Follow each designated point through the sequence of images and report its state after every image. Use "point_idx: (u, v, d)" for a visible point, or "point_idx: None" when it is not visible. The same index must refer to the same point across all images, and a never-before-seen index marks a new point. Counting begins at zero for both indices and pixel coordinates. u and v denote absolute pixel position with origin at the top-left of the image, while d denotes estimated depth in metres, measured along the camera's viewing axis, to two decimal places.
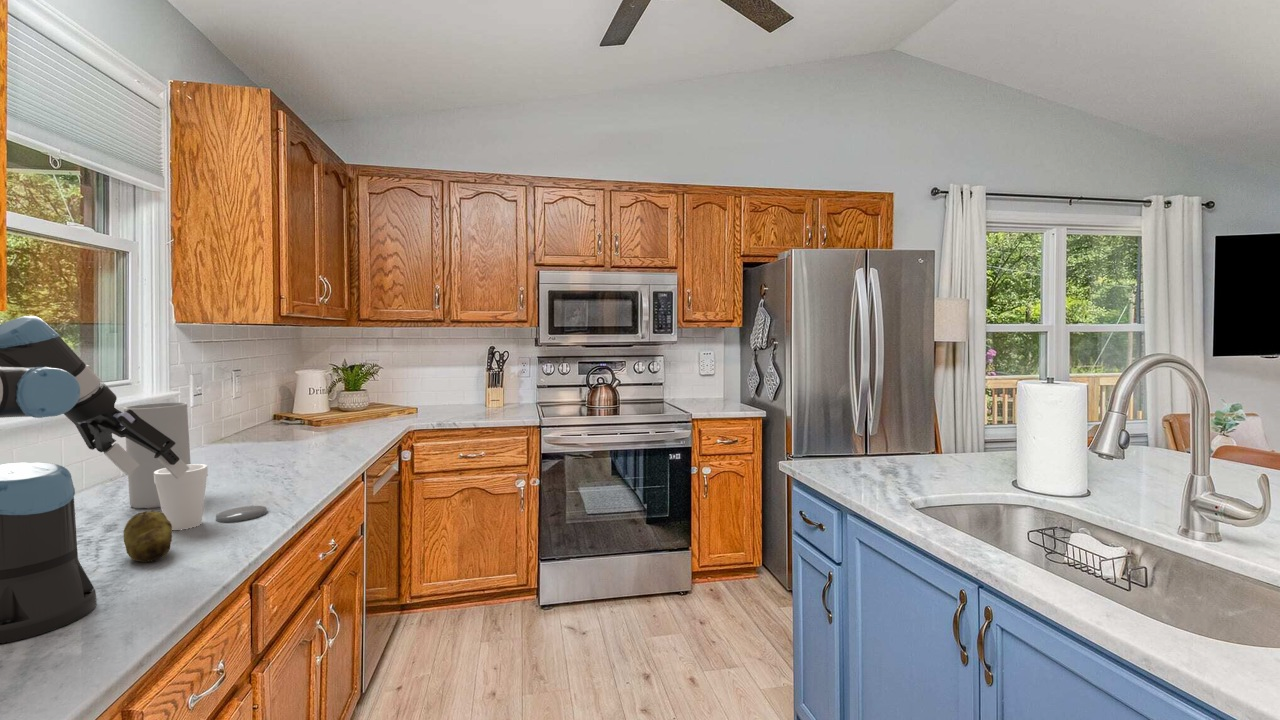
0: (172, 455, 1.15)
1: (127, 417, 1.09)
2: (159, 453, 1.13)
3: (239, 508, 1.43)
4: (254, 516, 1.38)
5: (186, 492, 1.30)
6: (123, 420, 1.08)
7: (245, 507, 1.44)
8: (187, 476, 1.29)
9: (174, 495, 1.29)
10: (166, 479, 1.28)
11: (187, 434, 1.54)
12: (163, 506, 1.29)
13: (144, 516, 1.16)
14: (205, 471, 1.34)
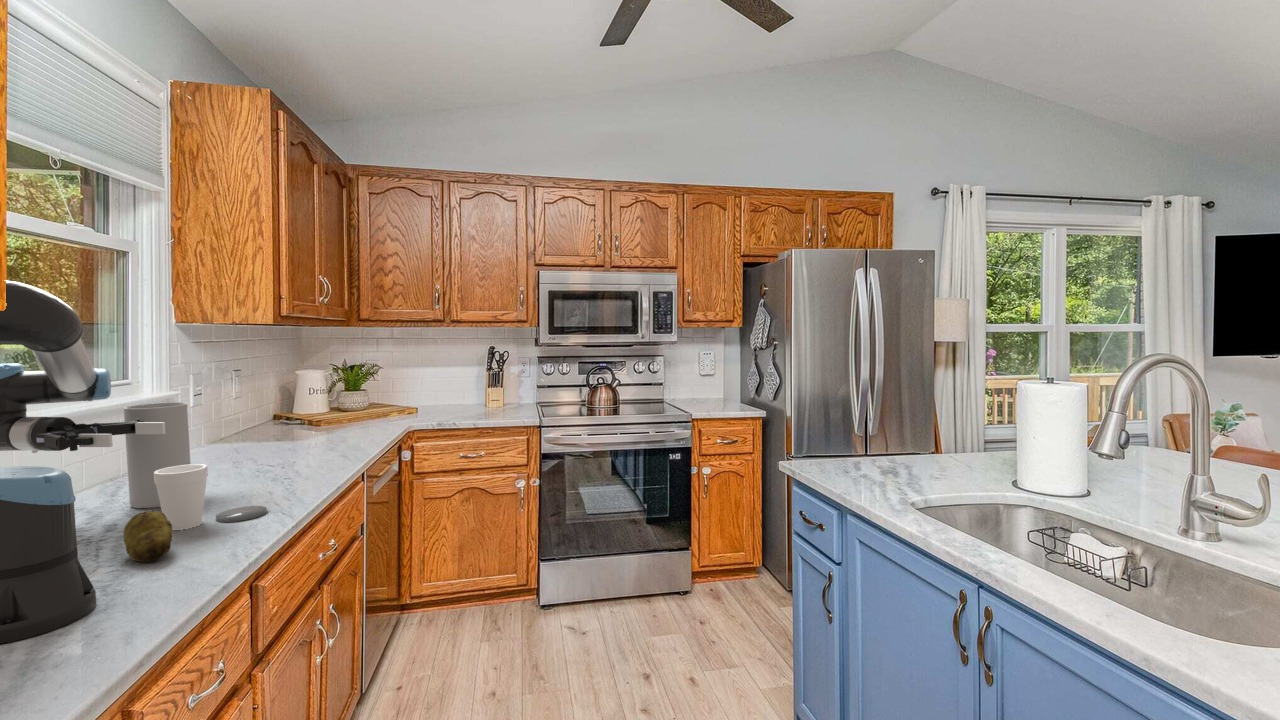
0: None
1: None
2: None
3: (239, 508, 1.43)
4: (254, 516, 1.38)
5: (186, 492, 1.30)
6: None
7: (245, 507, 1.44)
8: (187, 476, 1.29)
9: (174, 495, 1.29)
10: (166, 479, 1.28)
11: (187, 434, 1.54)
12: (163, 506, 1.29)
13: (144, 516, 1.16)
14: (205, 471, 1.34)
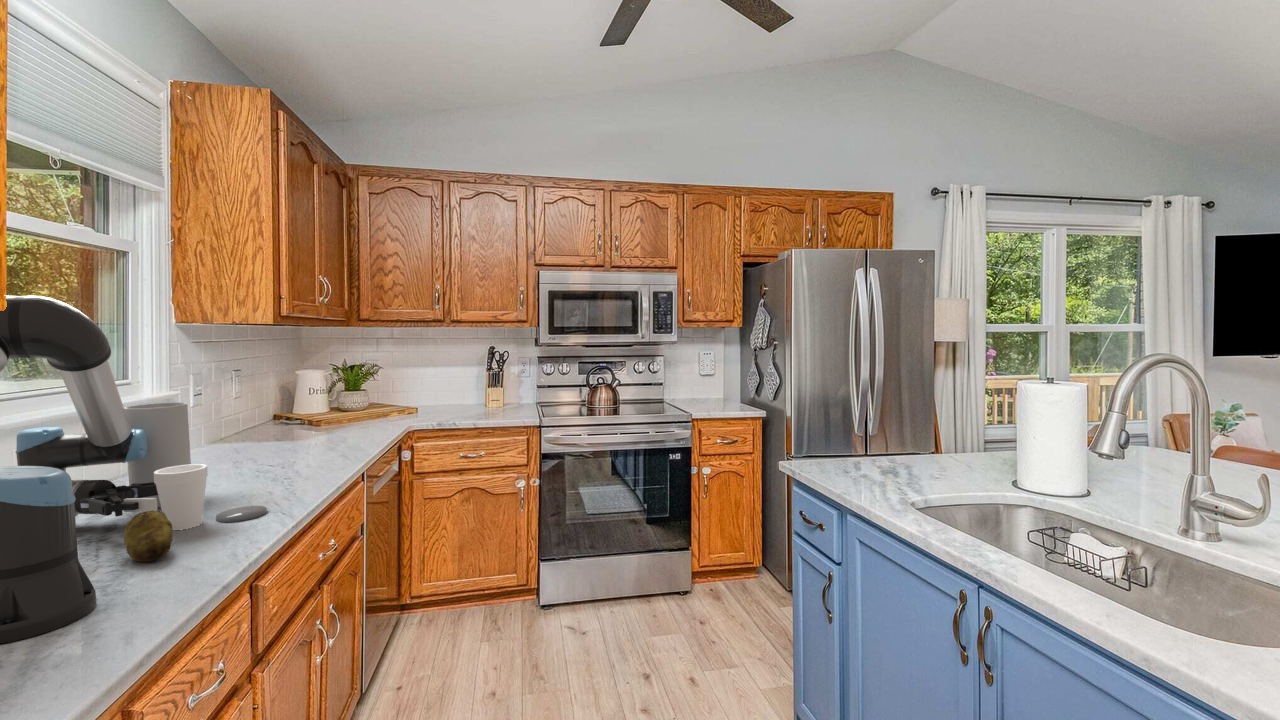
0: None
1: None
2: None
3: (239, 508, 1.43)
4: (254, 516, 1.38)
5: (186, 492, 1.30)
6: None
7: (245, 507, 1.44)
8: (187, 476, 1.29)
9: (174, 495, 1.29)
10: (166, 479, 1.28)
11: (188, 434, 1.54)
12: (163, 506, 1.29)
13: (145, 516, 1.16)
14: (205, 471, 1.34)
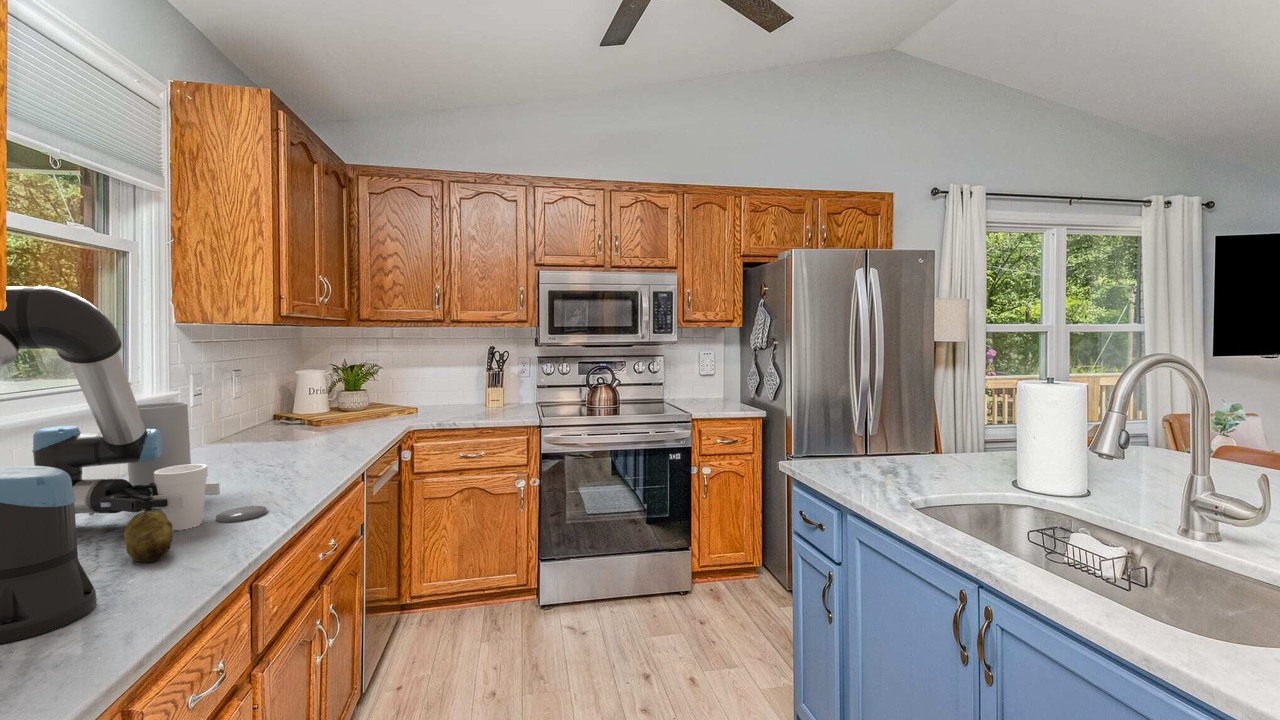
0: None
1: None
2: None
3: (239, 508, 1.43)
4: (254, 516, 1.38)
5: (186, 492, 1.30)
6: None
7: (245, 507, 1.44)
8: (187, 476, 1.29)
9: None
10: (166, 479, 1.28)
11: (188, 434, 1.54)
12: None
13: (145, 516, 1.16)
14: (205, 471, 1.34)
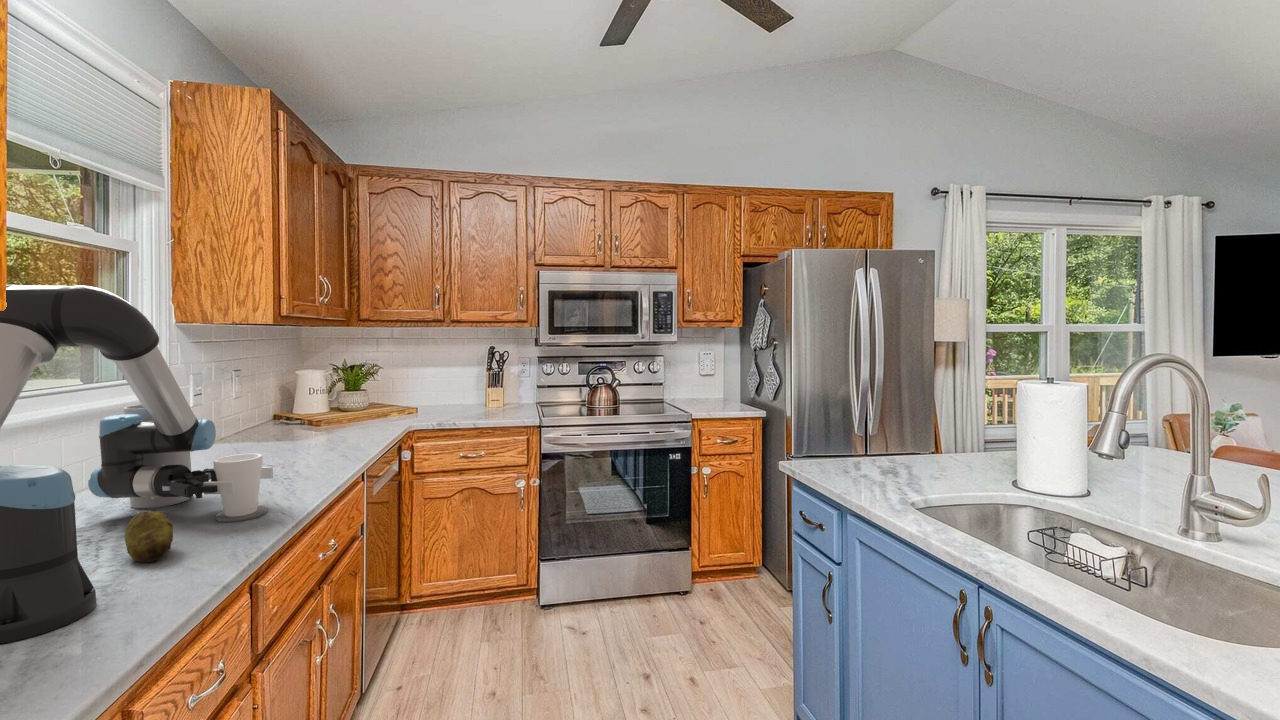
0: None
1: None
2: None
3: None
4: (254, 516, 1.38)
5: (244, 479, 1.37)
6: (208, 469, 1.46)
7: None
8: (245, 464, 1.36)
9: None
10: (226, 467, 1.35)
11: None
12: None
13: (145, 516, 1.16)
14: (261, 460, 1.41)
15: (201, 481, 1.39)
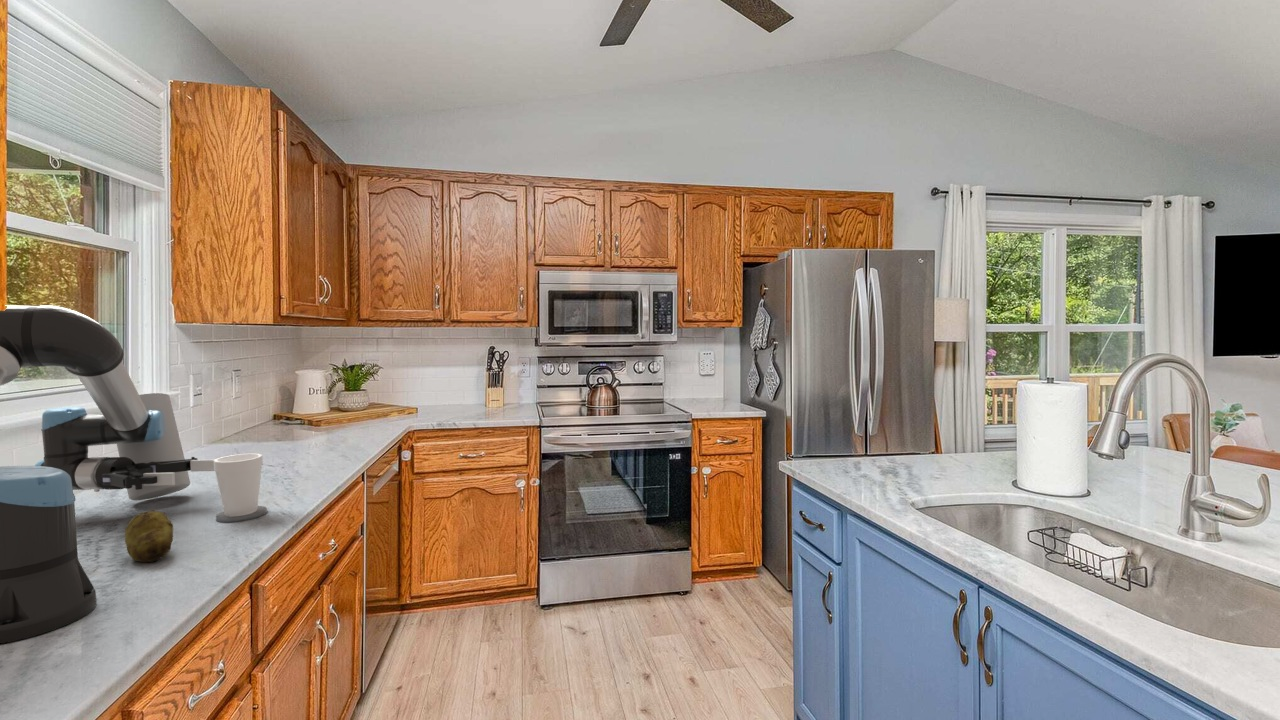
0: None
1: None
2: None
3: None
4: (254, 516, 1.38)
5: (244, 480, 1.37)
6: None
7: None
8: (245, 464, 1.36)
9: (233, 482, 1.35)
10: (226, 467, 1.35)
11: (174, 423, 1.57)
12: (223, 493, 1.36)
13: (145, 516, 1.16)
14: (261, 460, 1.41)
15: None
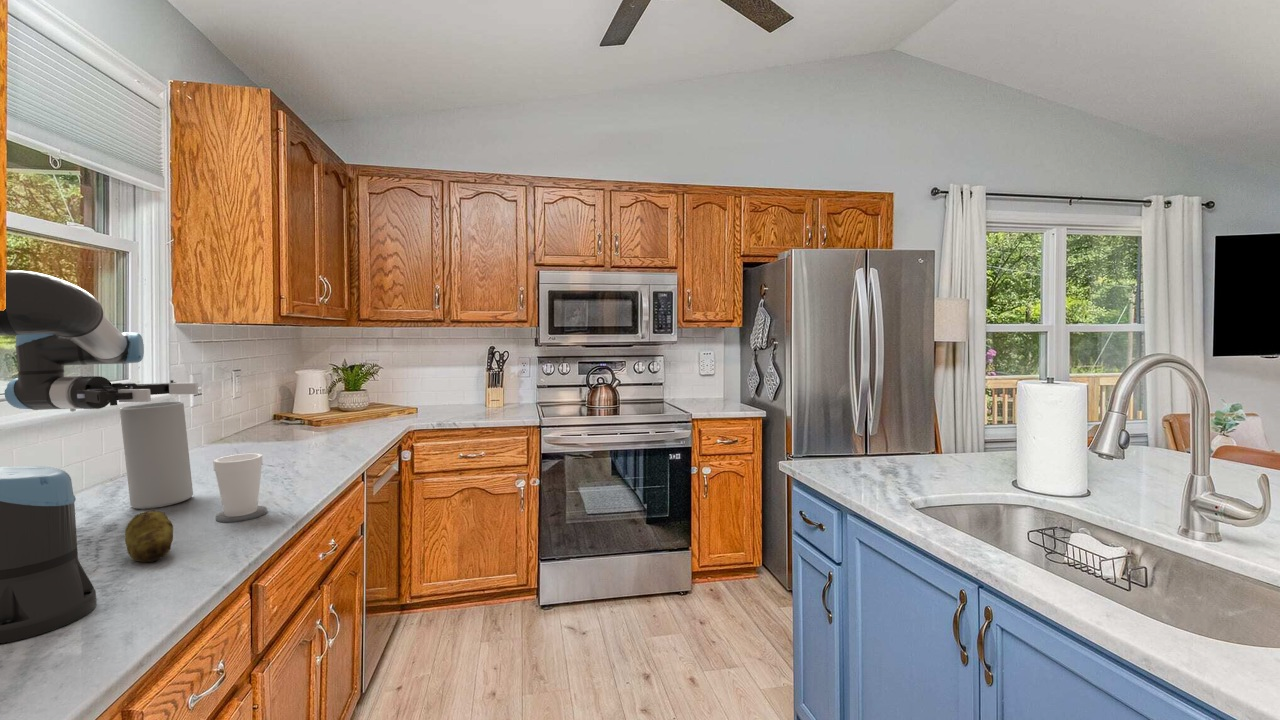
0: None
1: None
2: None
3: None
4: (254, 516, 1.38)
5: (244, 479, 1.37)
6: None
7: None
8: (245, 464, 1.36)
9: (233, 482, 1.35)
10: (226, 467, 1.35)
11: (185, 433, 1.53)
12: (222, 493, 1.36)
13: (145, 516, 1.16)
14: (260, 460, 1.41)
15: None
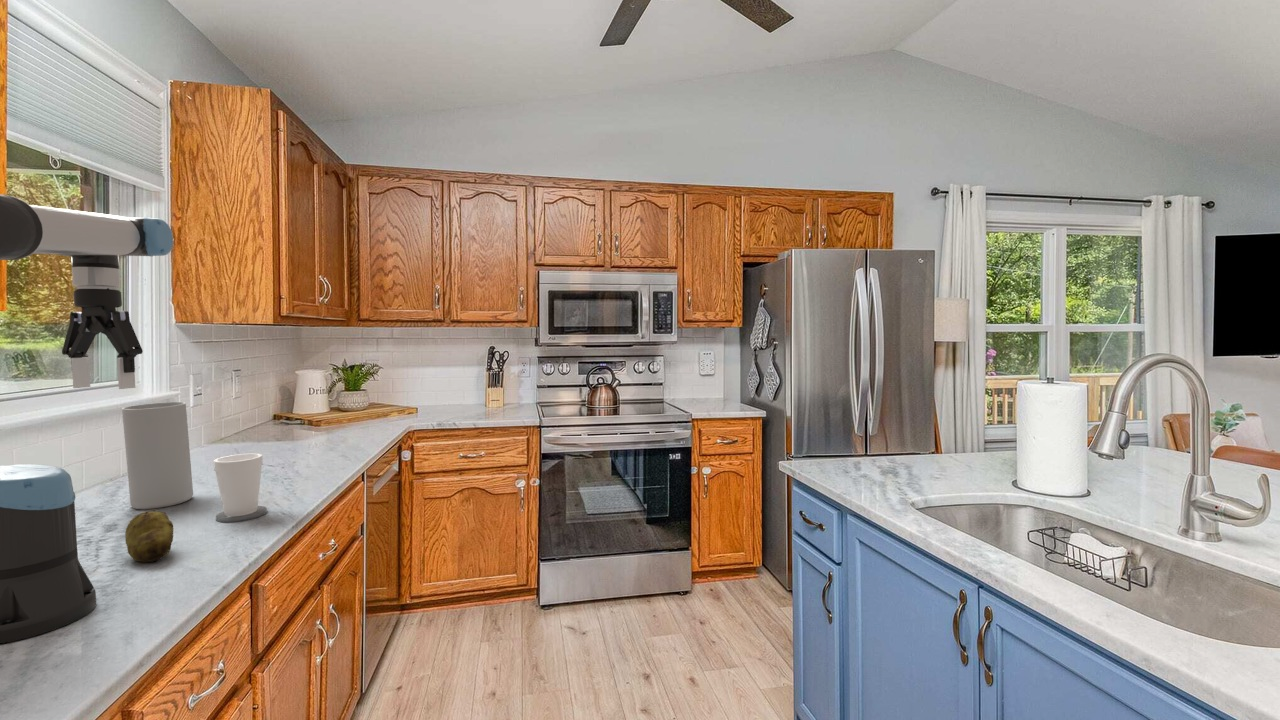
0: (131, 364, 1.25)
1: (121, 314, 1.25)
2: (123, 354, 1.24)
3: None
4: (254, 516, 1.38)
5: (244, 479, 1.37)
6: (117, 313, 1.24)
7: None
8: (245, 464, 1.36)
9: (233, 482, 1.36)
10: (226, 467, 1.35)
11: (187, 434, 1.53)
12: (223, 493, 1.36)
13: (146, 516, 1.16)
14: (261, 460, 1.41)
15: None
